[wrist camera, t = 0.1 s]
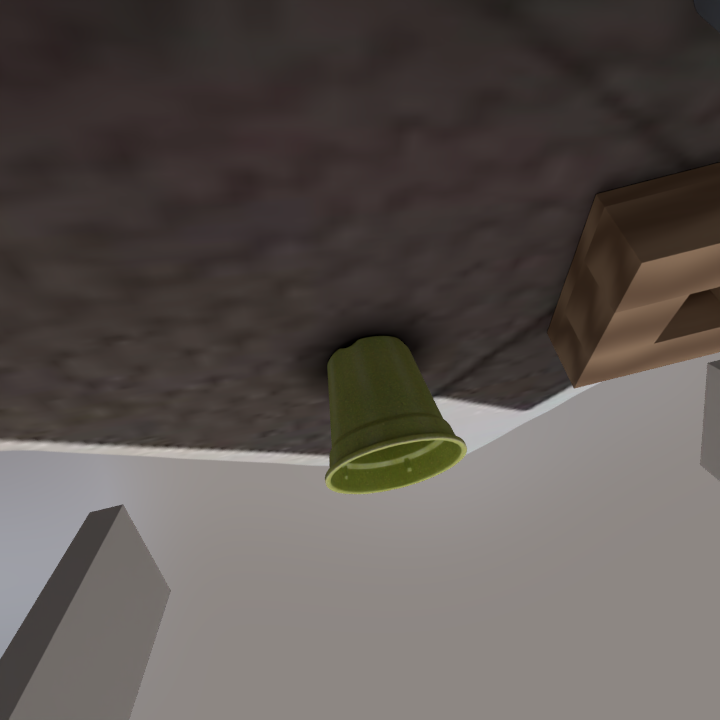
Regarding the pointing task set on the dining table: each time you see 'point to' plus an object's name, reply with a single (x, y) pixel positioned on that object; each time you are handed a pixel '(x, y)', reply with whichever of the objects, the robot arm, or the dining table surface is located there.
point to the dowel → (709, 11)
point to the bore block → (643, 280)
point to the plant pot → (384, 420)
